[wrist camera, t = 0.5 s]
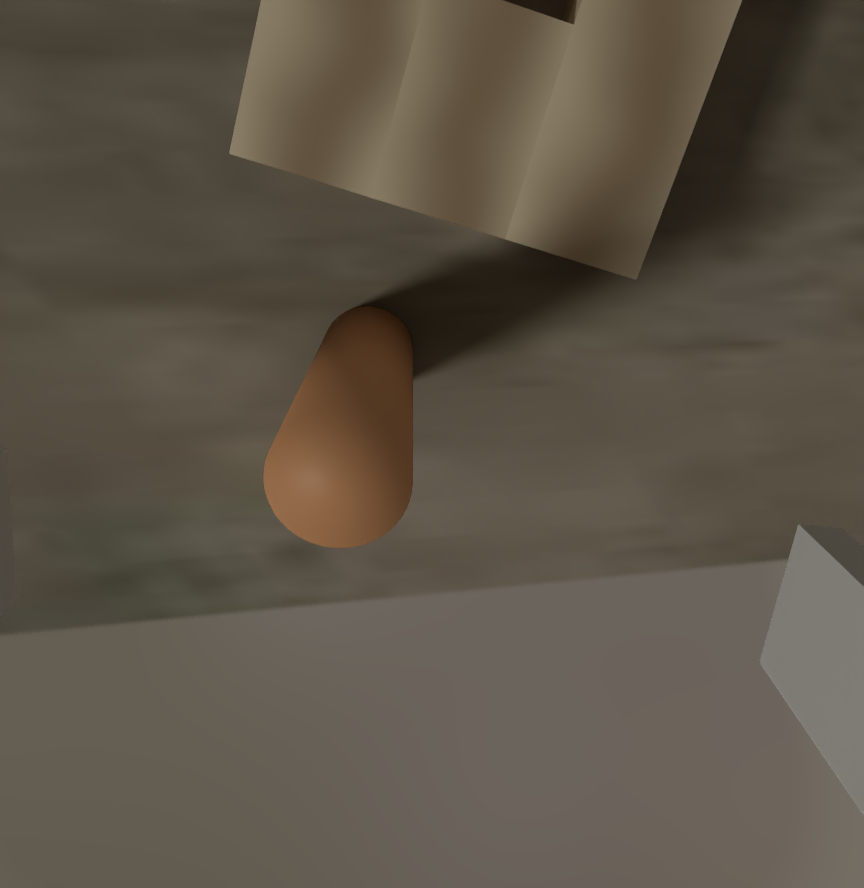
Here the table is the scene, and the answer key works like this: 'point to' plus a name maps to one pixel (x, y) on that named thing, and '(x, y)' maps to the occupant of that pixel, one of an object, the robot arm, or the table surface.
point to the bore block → (490, 110)
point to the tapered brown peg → (348, 435)
